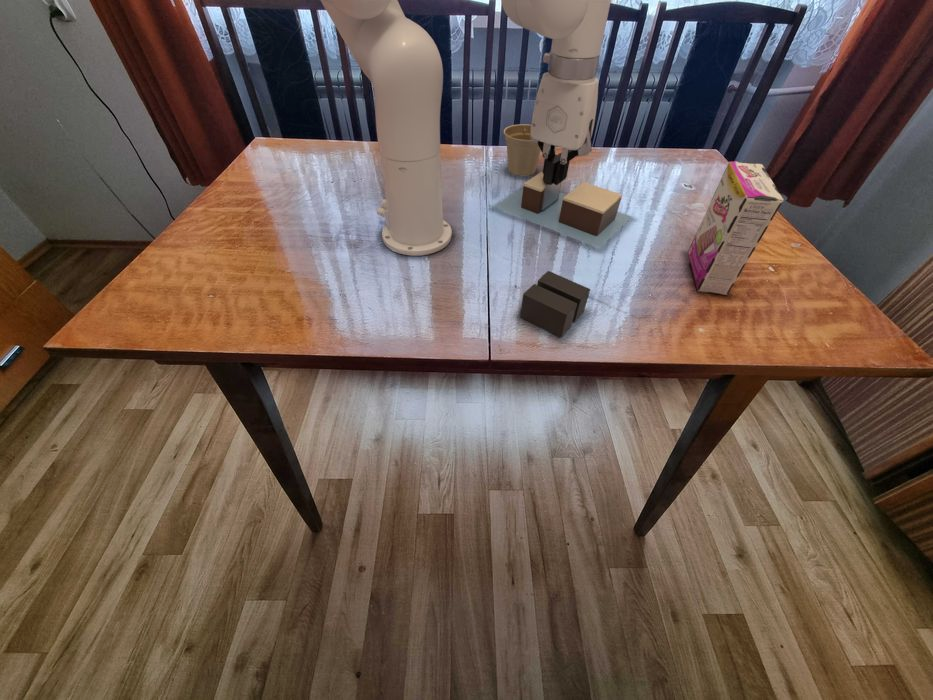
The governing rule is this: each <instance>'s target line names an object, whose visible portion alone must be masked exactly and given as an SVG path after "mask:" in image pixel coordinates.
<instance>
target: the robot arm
mask: <svg viewBox="0 0 933 700" xmlns="http://www.w3.org/2000/svg"><path fill="white" fill-rule="evenodd" d="M319 1H320V2H321V4H322V7H324V9H325V11H326V12H327V15H328V16H329V18H330V20H331V21H332V23H333V25H334V27H335V29H336V30H337V31H338V34H339V35H340V36H341V38H342V40H343V42H344V44H345V45H346V47H347V49H348V50H349V52H350V54H351V55H352V57H353V58H354V60H355V62H356V63H357V65H358V67H359V68H360V70H361V71H362V72H363V74H364V75H365V76H366V77H367V78H368V80H369V81H370V83H371V84H372V88H373V95H374V97H373V98H374V111H375V112H374V113H375V129H376V138H377V139H376V140H377V146H378V152H379V158H380V165H381V166H380V167H381V173H382V180H383V187H384V194H385V198H384V199H383V200H381V203H380V207H378V208H377V209H376V214H377V216H380V217H383V218H384V219H385V225H384V227H383V229H382V232H381V237H382V242H383V244H384V245H385V247H386V248H388V249H389V250H391V251H392V252H394V253H397V254H400V255H404V256H412V257H416V256H417V257H418V256H419V257H420V256H427V255H431V254H436V253H437V252H439V251H441V250H443V249H444V248H446V247H447V246H448V245H449V244H450V242H451V240H452V238H453V235H452V234H453V231H452V227H451V224H449V222H447V221H446V220H445V219H444V213H443V212H444V210H443V180H442V179H443V178H442V149H441V108H442V107H441V105H442V99H443V98H442V96H443V87H444V86H443V85H444V68H443V62H442V57H441V54H440V51H439V49H438V46H437V44H436V43H435V41H434V39H433V38H432V37H431V36H430V34H429V33H428V31H426V30H425V29H424V28H423V27H422V26H421V25H419V24H418V23H416V22H415V21H413V20H411V19H409V18H407V17H406V15H405V13H404V11H403V10H402V7H401V5H400V3H399V1H398V0H319ZM500 2H501V6H502V9H503V11H504V13H505V15H506V16H507V18H508V19H509V20H510V21H511V22H512V23H514V24H515V25H517V26H519V27H521V28H523V29H525V30H528V31H529V32H530V31H531V32H533V33H536V34H538V35H541V36H542V37H545V38H548V39H551V47H550V50H549V52H545V53H544V54H543V57H542V62H543V63H544V64H546V65H547V72H544V73H542V76H541V79H540V84H539V86H538V90H537V93H536V96H535V101H534V107H533V110H532V117H531V124H530V125H531V134H530V139H531V140H533V141H534V142H535V143H536V144H538V146H539V148H540V149H541V153H542V154H541V155H542V156H541V157H542V158H543V166H542V171H543V174H544V175H543V181H544V177H545V170H546V164H547V161H548V160H550V159H551V158H553V157H555V156H556V155H557V154H556V150H557V147H558V148H561V152H560V153H561V158H560V162H559V163H557V166H556V172H555V178H554V184H555V185H558V184H559V183H561V184H562V182H564V181H565V180H566V179H567V177H568V171H569V167H570V162H571V160H573V159H574V158H577V157H586V156H588V155H590V154H591V153H592V151H593V149H592V140H591V139H592V137H593V132H594V128H595V123H596V115H597V108H598V99H599V98H598V97H599V79H598V78H597V77H596V75H597V71H598V66H599V62H600V61H599V60H600V55H601V51H602V46H603V40H604V37H605V32H606V31H605V30H606V26H607V22H608V17H609V12H610V8H611V2H612V0H500Z"/></svg>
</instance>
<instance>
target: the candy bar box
mask: <svg viewBox="0 0 933 700" xmlns="http://www.w3.org/2000/svg"><path fill="white" fill-rule="evenodd" d="M784 201H785V199H784V198H783V196H782V194H781V193H780V190H778V188H777V186H776V185H775V183H774V182H773V180H772V179H771V176H770V175H769V172H767V170H766V168H765V167H764V165H763V164H762V163H753V162H746V161H745V162H744V161H742V162H741V161H738V160H737V161H728V162H727V164H726V167H725V169H724V172H723V174H722V176H721V179H720V181H719V182H718V185H717V187H716V189H715V191H714V193H713V196H712V198H711V200H710V202H709V204H708V207H707V209H706V211H705V214H704V216H703V218H702V220H701V223H700V225H699V226H698V229H697V230H696V231H697V232H696V233H695V234H694V235H695V236H694V237H693V240H692V242H691V244H690V246H689V249H688V250H687V254H688V257H689V261H690V262H689V265H690V268H691V273H692V276H693V280H694V284H695V288H696V291H697V292H699V293H705V294H713V295H720V296H728V295H729V293H730V292H731V290H732V288H733V287H734V285H735V283H736V282H737V280H738V278H739V276H740V275H741V273H742V272H743V270H744V268H745V266H746V265H747V263H748V262H749V259H750V258H751V256H752V254H753V253H754V251H755V250H756V248H757V247H758V244H759V243H760V242H761V240H762V238H763V237H764V234H765V233H766V231H767V230H768V228H769V226H770V224H771V223H772V221H773V220H774V217H775V216H776V214H777V212H778V211H779V210H780V208H781V206H782V205H783V202H784Z"/></svg>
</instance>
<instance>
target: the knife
mask: <svg viewBox="0 0 933 700" xmlns="http://www.w3.org/2000/svg"><path fill="white" fill-rule="evenodd" d="M561 153H562V152H559V153H558V154H555V155H556V156H555V157H553V158H551V159H550V160H548V161H547V164H546V170H545V177H544V183H546V184H545V188H544V194H543V200H542V207H541V210H544V209H545V208H546V207H548V206H549V205H550V204H552V203H553V202H554V201H556V200H557V199H558V196H559V191H560V192H561V187H560V185H561V186H562V182H561V183H559V184H558V185H555V184H554V178H555V172H556V166H557V163H559V162H560V158H561Z"/></svg>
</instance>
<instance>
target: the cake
mask: <svg viewBox="0 0 933 700" xmlns="http://www.w3.org/2000/svg"><path fill="white" fill-rule="evenodd" d="M622 198H623V194H622V193H620V192H619V193H618V192H616V191H613V190H611V189H607V188H603V187H600V186H598V185H594V184H591V183H588V182H585V181H583V182H581V183H580V184H579V185H578V186H576V187H575V188H573V189H572V190H571V191H570V192H569V193H567V195H566V196H565V197H563V202H562V207H561V212H560V217H559V223H562V224H565V225H567V226H570V227H573V228H575V229H578V230H581V231H583V232H586V233H589V234H591V235H594V236H598V235H599V234H600V233H601V232H602V231H603V230H604V229H605V228H606V227H607V226H608V225H609V224H610V223H611V222H613V221H614V220H615V218H616V214H617V212H619V208H620V206H621V205H620V204H621V201H622Z"/></svg>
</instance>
